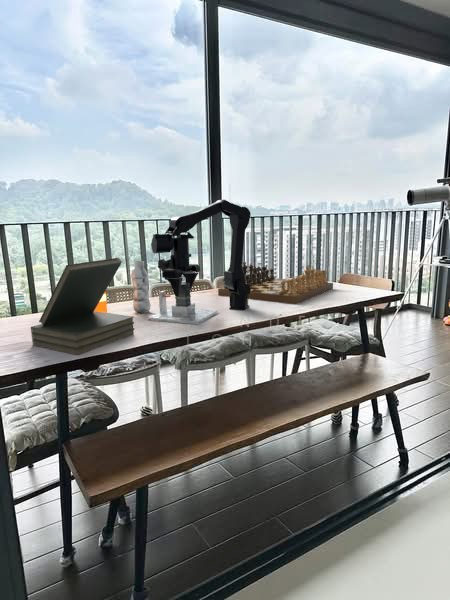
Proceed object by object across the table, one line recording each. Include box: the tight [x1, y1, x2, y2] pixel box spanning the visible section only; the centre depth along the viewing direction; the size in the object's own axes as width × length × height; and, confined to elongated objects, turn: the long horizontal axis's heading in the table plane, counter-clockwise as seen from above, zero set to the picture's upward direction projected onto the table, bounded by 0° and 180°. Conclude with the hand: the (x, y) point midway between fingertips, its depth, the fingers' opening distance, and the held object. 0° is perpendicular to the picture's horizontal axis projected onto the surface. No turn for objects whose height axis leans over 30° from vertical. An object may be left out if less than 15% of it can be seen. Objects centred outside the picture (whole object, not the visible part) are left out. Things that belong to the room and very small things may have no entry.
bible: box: [30, 257, 135, 356], centre depth 127 cm, size 23×20×25 cm
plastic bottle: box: [130, 260, 152, 314], centre depth 162 cm, size 6×7×20 cm
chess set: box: [217, 260, 334, 305], centre depth 198 cm, size 40×40×15 cm
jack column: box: [174, 281, 192, 306], centre depth 155 cm, size 4×4×8 cm
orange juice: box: [94, 290, 108, 313], centre depth 158 cm, size 8×9×20 cm
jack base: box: [147, 290, 219, 325], centre depth 155 cm, size 20×18×9 cm
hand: (182, 294), depth 155 cm, fingers open, 9 cm apart
